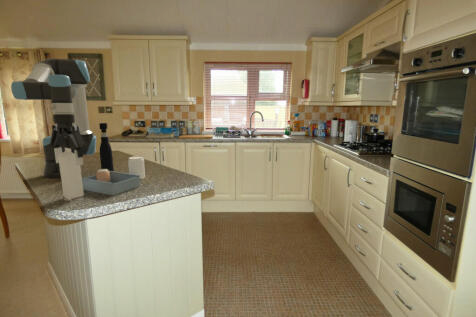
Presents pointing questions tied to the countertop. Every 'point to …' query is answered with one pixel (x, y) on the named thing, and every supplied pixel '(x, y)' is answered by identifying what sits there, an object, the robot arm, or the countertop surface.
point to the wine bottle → (105, 149)
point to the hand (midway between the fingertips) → (69, 163)
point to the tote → (112, 183)
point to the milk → (70, 175)
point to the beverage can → (136, 166)
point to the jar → (103, 175)
